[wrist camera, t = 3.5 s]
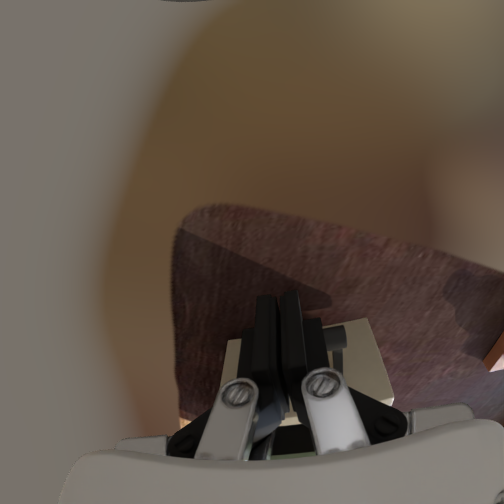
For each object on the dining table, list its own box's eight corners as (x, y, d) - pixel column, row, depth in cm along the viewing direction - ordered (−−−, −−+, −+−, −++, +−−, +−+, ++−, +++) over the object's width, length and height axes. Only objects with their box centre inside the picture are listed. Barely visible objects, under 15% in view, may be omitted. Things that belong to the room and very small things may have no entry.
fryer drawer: (211, 300, 20) (187, 386, 13) (366, 273, 18) (405, 354, 12) (262, 416, 28) (258, 474, 21) (360, 401, 26) (371, 460, 19)
